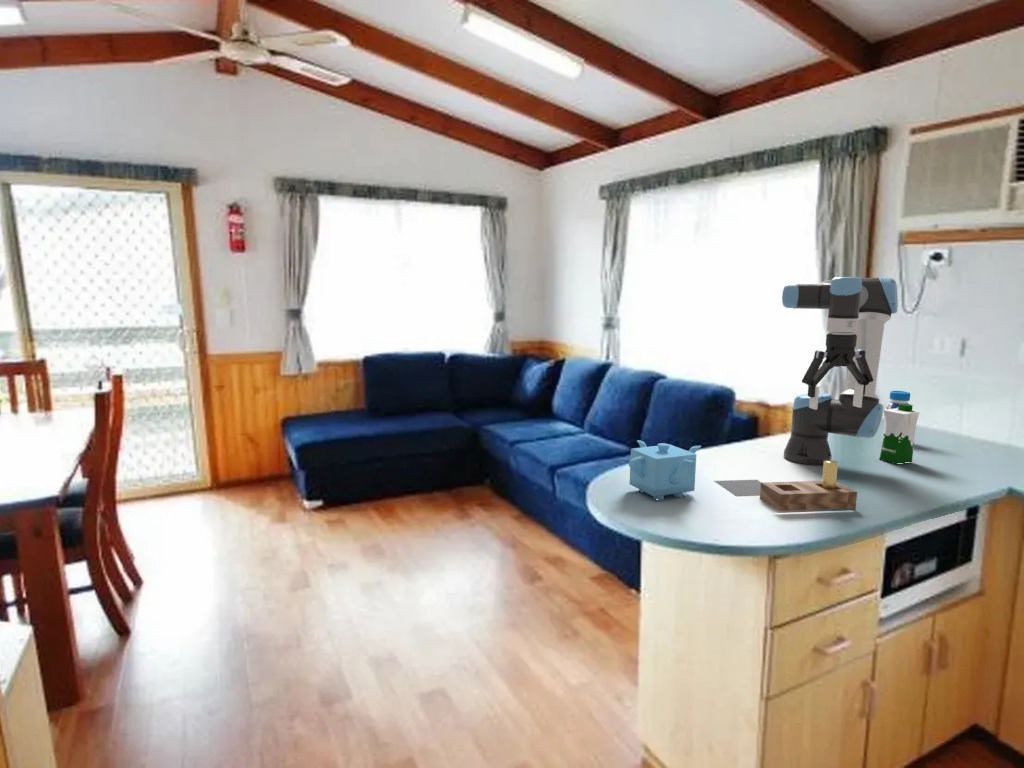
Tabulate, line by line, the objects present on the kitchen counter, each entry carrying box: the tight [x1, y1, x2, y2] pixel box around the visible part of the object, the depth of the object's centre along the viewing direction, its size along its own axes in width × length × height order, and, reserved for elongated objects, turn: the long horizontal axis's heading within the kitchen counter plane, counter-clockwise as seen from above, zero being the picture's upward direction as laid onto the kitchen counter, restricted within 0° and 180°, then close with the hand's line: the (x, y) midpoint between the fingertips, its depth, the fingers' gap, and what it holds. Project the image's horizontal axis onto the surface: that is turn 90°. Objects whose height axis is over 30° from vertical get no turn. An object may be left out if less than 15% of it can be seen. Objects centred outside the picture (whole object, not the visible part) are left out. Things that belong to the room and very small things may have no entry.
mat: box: [714, 479, 763, 497], centre depth 180 cm, size 14×14×1 cm
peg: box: [821, 459, 839, 490], centre depth 167 cm, size 4×4×12 cm
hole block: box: [759, 480, 858, 512], centre depth 167 cm, size 22×10×5 cm, turn 97°
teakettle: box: [628, 439, 702, 501], centre depth 174 cm, size 19×19×15 cm
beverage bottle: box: [885, 390, 911, 410], centre depth 239 cm, size 8×8×20 cm
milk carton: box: [879, 403, 920, 464], centre depth 210 cm, size 9×9×20 cm
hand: (835, 407), depth 173 cm, fingers open, 13 cm apart
